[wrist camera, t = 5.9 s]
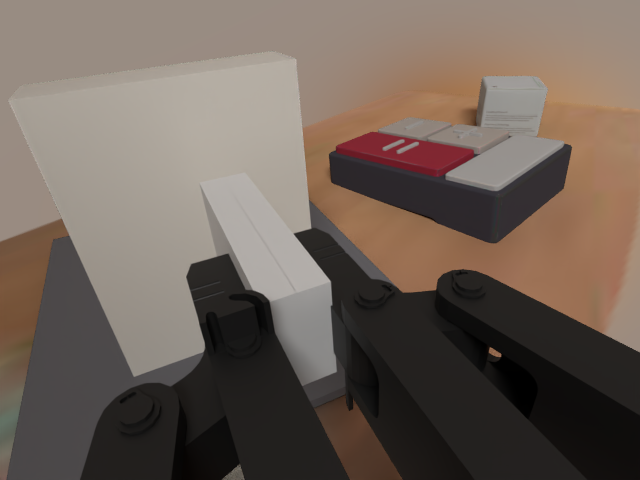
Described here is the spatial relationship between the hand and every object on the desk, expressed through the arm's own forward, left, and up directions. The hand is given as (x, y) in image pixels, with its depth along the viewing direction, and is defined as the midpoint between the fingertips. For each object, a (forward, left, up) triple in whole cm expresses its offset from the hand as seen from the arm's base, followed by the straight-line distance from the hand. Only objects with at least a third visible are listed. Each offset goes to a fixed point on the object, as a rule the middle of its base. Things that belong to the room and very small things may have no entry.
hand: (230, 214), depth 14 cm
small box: (+33, +20, -9) cm, 40 cm away
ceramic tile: (-1, +4, -8) cm, 9 cm away
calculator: (+19, +12, -9) cm, 24 cm away
